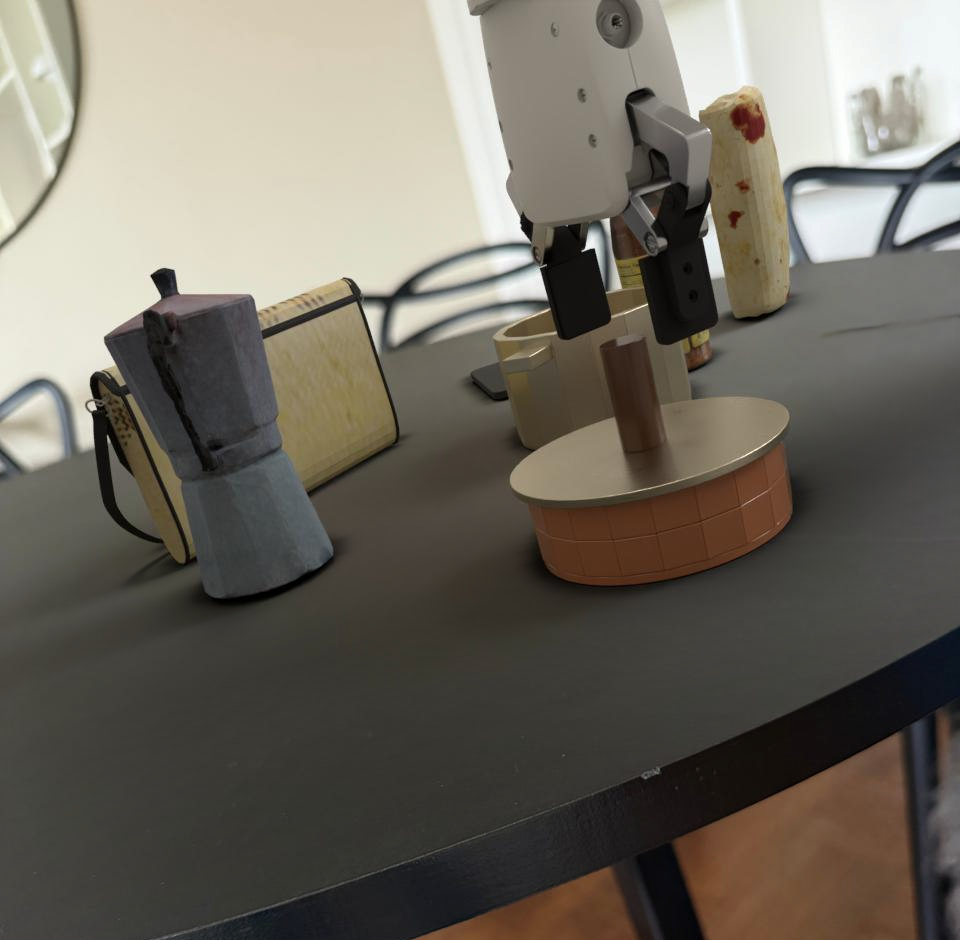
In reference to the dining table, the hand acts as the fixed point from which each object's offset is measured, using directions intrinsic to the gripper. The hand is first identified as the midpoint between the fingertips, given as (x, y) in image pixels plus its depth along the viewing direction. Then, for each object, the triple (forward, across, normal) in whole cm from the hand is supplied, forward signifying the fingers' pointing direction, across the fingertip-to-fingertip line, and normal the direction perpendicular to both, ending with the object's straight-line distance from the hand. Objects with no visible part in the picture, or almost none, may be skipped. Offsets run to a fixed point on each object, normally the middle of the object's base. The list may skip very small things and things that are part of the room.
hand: (633, 333), depth 52 cm
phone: (+11, +51, -15) cm, 54 cm away
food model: (+12, +40, -38) cm, 56 cm away
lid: (+6, 0, +1) cm, 6 cm away
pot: (+11, +25, -10) cm, 29 cm away
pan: (+11, 0, +1) cm, 11 cm away
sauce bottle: (+11, +31, -21) cm, 40 cm away
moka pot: (+10, +20, +19) cm, 29 cm away
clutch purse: (+10, +39, +14) cm, 42 cm away
